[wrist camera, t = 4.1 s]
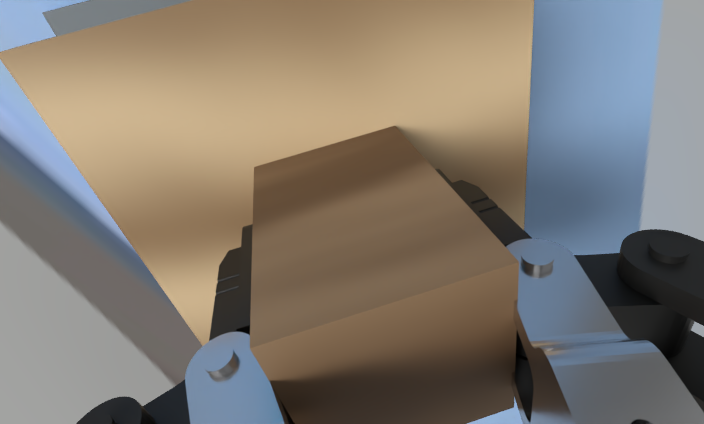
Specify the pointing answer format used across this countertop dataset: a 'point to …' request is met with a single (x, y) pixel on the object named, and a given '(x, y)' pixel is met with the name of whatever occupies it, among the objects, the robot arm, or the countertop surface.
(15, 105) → the countertop surface
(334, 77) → the oak lid
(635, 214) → the countertop surface
